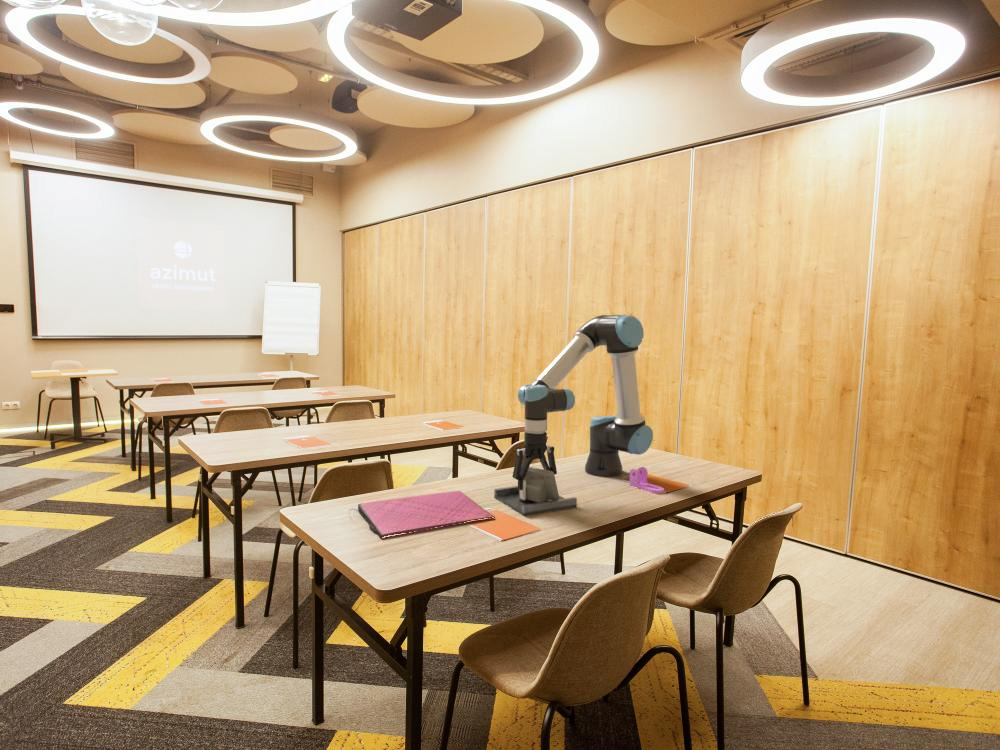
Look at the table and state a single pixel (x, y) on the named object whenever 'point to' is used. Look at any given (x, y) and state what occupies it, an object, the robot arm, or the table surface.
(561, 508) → the rail plate
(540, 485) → the digital clock
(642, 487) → the bracket
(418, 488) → the table surface
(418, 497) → the laptop bag
